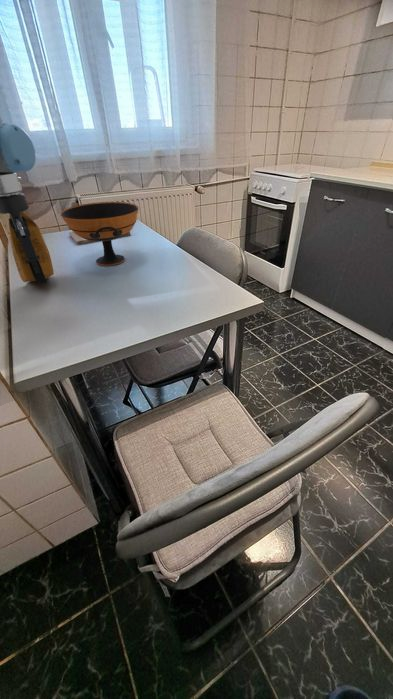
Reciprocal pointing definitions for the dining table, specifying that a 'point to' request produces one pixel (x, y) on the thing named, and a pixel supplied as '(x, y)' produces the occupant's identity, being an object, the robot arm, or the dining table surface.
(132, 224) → the footed pedestal bowl
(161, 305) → the dining table surface
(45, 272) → the coffee package
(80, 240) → the chopping board
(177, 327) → the dining table surface
